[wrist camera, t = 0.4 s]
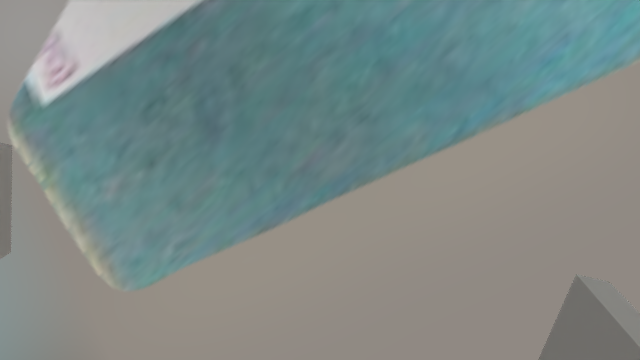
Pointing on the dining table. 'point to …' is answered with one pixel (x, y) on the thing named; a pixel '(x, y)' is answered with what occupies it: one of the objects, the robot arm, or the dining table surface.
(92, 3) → the dining table surface
